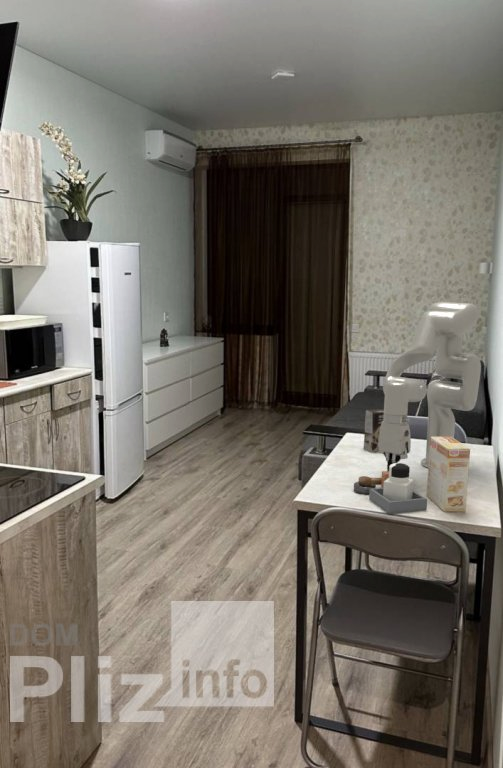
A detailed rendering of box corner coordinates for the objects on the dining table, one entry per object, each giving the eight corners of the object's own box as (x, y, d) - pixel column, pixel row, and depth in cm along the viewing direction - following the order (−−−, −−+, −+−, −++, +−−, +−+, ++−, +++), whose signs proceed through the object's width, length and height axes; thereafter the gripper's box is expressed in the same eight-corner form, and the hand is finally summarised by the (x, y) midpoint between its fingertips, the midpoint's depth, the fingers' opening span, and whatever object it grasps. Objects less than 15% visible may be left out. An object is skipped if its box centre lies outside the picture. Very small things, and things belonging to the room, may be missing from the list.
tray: (404, 495, 205) (405, 485, 205) (426, 509, 194) (427, 498, 193) (369, 499, 202) (369, 488, 201) (389, 513, 190) (389, 502, 189)
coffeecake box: (466, 511, 192) (471, 448, 189) (443, 512, 192) (447, 448, 189) (447, 494, 207) (451, 435, 204) (425, 495, 207) (429, 436, 203)
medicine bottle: (412, 501, 199) (414, 463, 197) (405, 508, 193) (407, 469, 191) (390, 496, 203) (392, 460, 200) (382, 503, 196) (384, 465, 194)
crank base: (369, 486, 214) (369, 480, 214) (379, 493, 207) (379, 487, 207) (349, 488, 212) (350, 482, 212) (359, 495, 205) (359, 489, 205)
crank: (360, 486, 207) (361, 467, 206) (357, 482, 211) (358, 463, 210) (403, 485, 208) (404, 467, 207) (399, 481, 212) (400, 463, 211)
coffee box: (372, 453, 255) (374, 413, 252) (363, 448, 260) (364, 409, 258) (391, 450, 258) (393, 411, 255) (382, 446, 264) (384, 408, 261)
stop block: (383, 495, 206) (385, 474, 205) (380, 492, 209) (382, 471, 207) (393, 495, 206) (394, 474, 205) (389, 491, 209) (391, 471, 208)
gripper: (421, 421, 207) (417, 476, 210) (383, 413, 218) (380, 465, 221) (407, 424, 202) (403, 480, 205) (369, 416, 213) (366, 469, 216)
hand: (391, 473), depth 213 cm, fingers closed
